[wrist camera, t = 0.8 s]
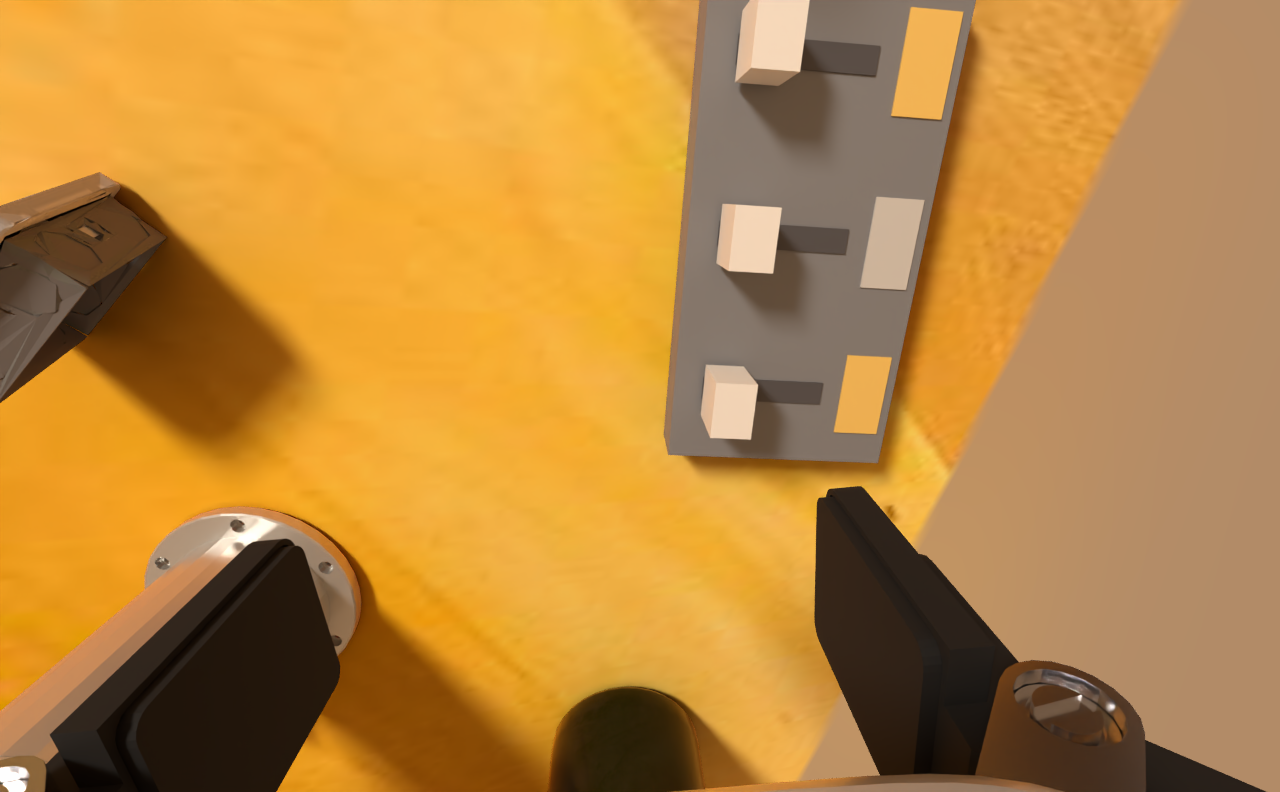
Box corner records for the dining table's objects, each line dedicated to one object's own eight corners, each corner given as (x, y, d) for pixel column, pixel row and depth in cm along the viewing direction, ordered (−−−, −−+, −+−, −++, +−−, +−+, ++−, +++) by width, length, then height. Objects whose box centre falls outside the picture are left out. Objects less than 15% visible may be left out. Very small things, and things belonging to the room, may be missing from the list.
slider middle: (756, 265, 29) (772, 273, 26) (716, 263, 29) (728, 270, 26) (763, 206, 28) (781, 207, 25) (722, 203, 28) (735, 204, 25)
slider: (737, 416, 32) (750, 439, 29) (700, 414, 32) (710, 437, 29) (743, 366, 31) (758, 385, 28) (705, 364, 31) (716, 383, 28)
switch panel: (856, 442, 36) (878, 463, 33) (663, 434, 35) (668, 455, 33) (946, -12, 29) (984, -35, 26) (702, -34, 28) (713, -62, 25)
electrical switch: (111, 168, 30) (-75, 176, 21) (207, 244, 31) (72, 279, 23) (14, 297, 31) (-194, 352, 23) (110, 361, 33) (-48, 435, 25)
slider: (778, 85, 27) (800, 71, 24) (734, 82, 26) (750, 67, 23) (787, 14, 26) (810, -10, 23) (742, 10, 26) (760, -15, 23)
